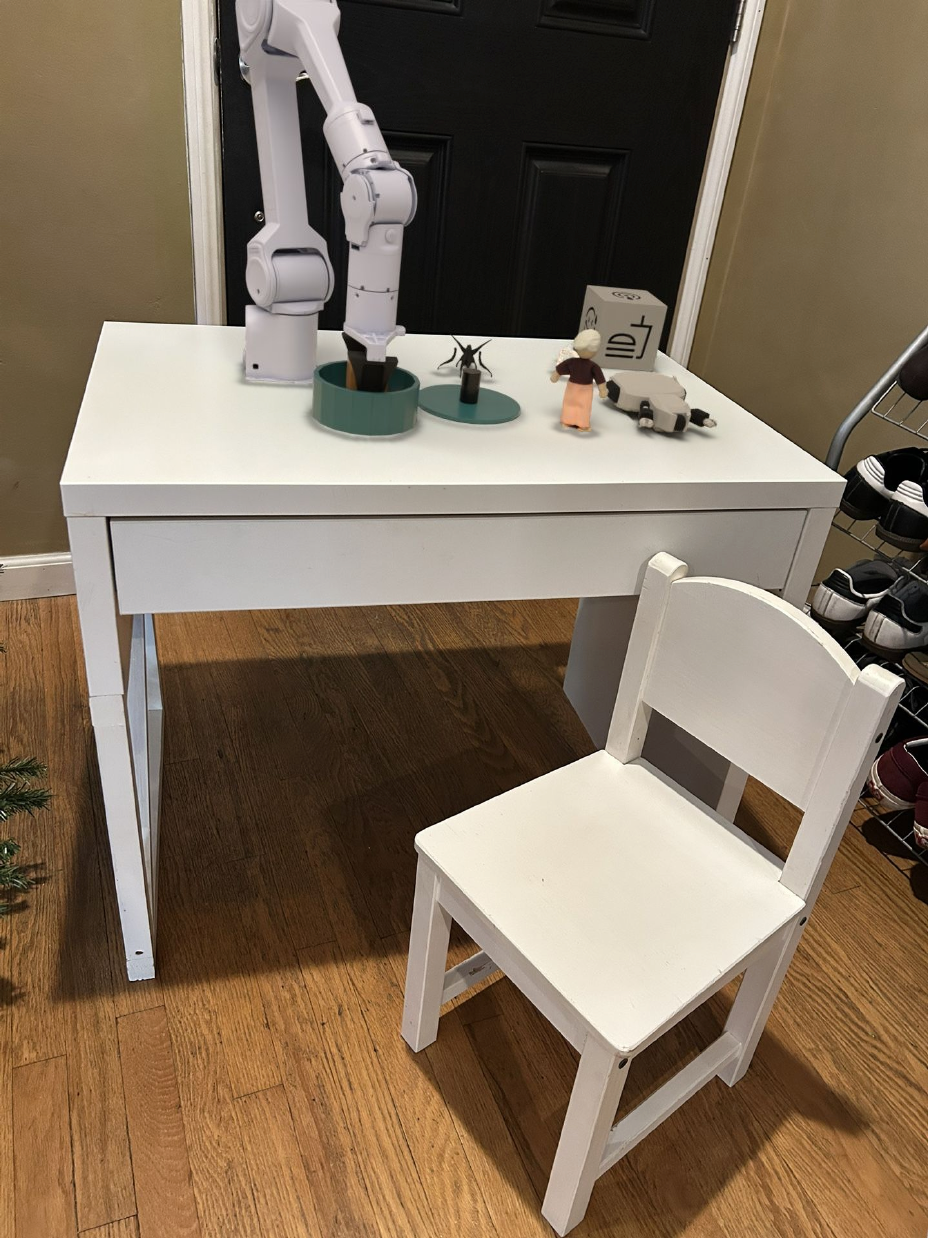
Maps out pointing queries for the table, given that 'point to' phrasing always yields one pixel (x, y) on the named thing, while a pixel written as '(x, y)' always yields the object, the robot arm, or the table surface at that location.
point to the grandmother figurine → (581, 381)
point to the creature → (467, 356)
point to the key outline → (570, 353)
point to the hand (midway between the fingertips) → (365, 403)
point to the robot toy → (655, 401)
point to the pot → (364, 402)
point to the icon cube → (624, 326)
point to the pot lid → (468, 401)
